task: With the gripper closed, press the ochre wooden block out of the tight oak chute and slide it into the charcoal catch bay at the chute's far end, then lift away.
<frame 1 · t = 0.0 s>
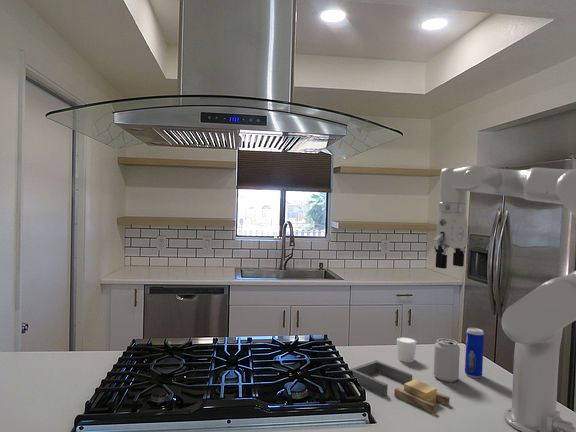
hand: (449, 266, 119), 37 cm above the countertop, tool pointing down, fingers open, 9 cm apart
catch bay: (381, 381, 123), on the countertop
ochre block: (419, 400, 112), on the countertop
white tapered cylinder: (405, 359, 143), on the countertop
chute: (421, 399, 112), on the countertop
beverage can: (473, 375, 131), on the countertop
can: (445, 378, 127), on the countertop
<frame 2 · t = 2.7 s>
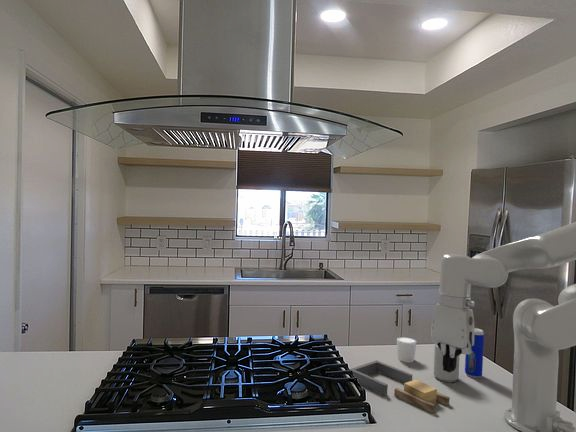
hand: (448, 370, 105), 11 cm above the countertop, tool pointing down, fingers closed
nothing on the countertop moved.
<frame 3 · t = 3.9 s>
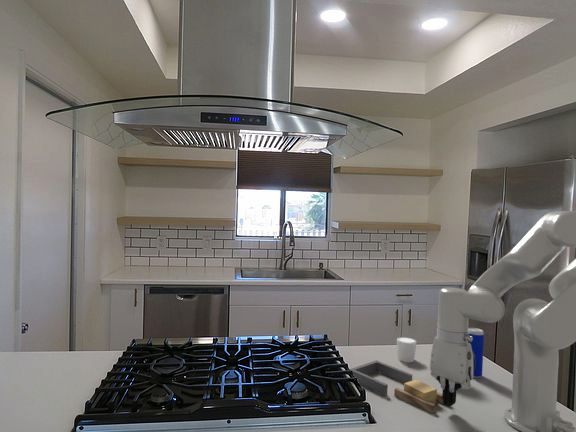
hand: (448, 404, 105), 2 cm above the countertop, tool pointing down, fingers closed
nothing on the countertop moved.
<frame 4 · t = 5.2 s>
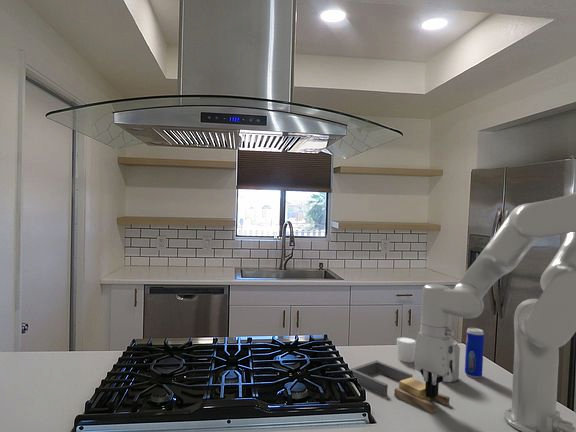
hand: (431, 396, 109), 2 cm above the countertop, tool pointing down, fingers closed
ochre block: (414, 397, 113), on the countertop, touching gripper
everything else where it was.
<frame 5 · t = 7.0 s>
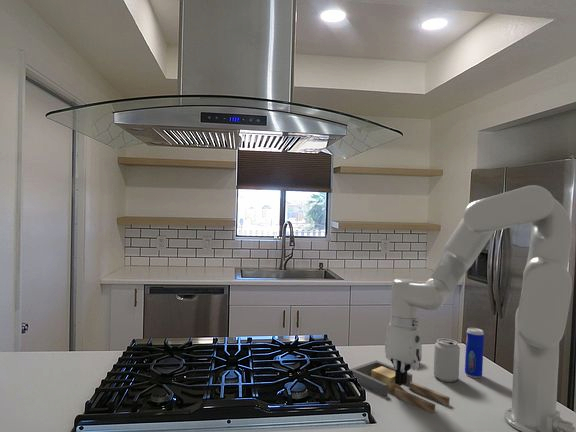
hand: (400, 383, 117), 2 cm above the countertop, tool pointing down, fingers closed
ochre block: (385, 384, 121), on the countertop, touching gripper
everything else where it was.
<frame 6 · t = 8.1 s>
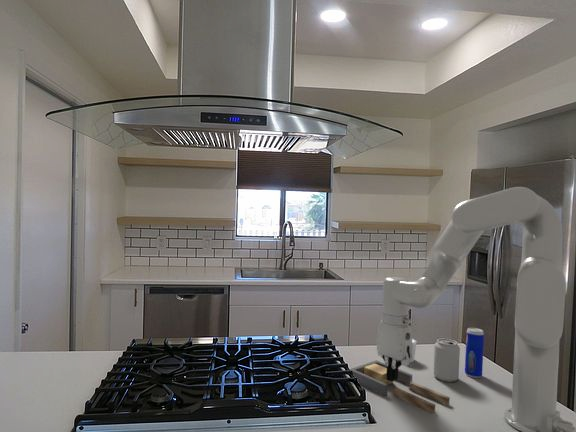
hand: (392, 379, 119), 2 cm above the countertop, tool pointing down, fingers closed
ochre block: (378, 381, 124), on the countertop
everything else where it was.
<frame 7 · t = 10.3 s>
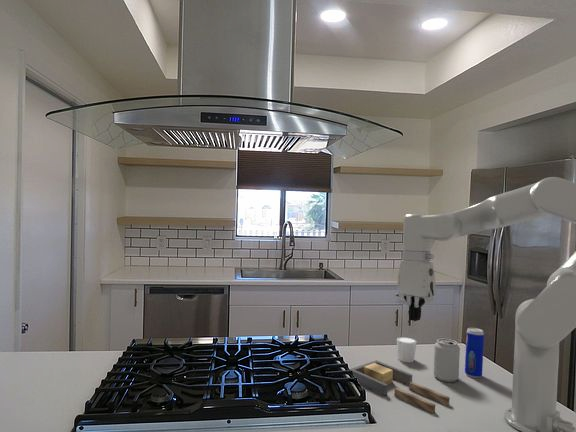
hand: (414, 319, 115), 21 cm above the countertop, tool pointing down, fingers closed
nothing on the countertop moved.
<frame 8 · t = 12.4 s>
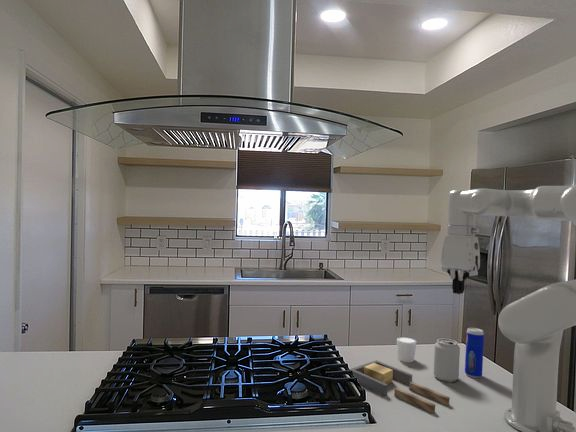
hand: (458, 292, 118), 29 cm above the countertop, tool pointing down, fingers closed
nothing on the countertop moved.
at the end: ochre block inside the target area (0.2 cm from its centre), on the countertop; ochre block tilted 0°; the gripper is holding nothing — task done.
